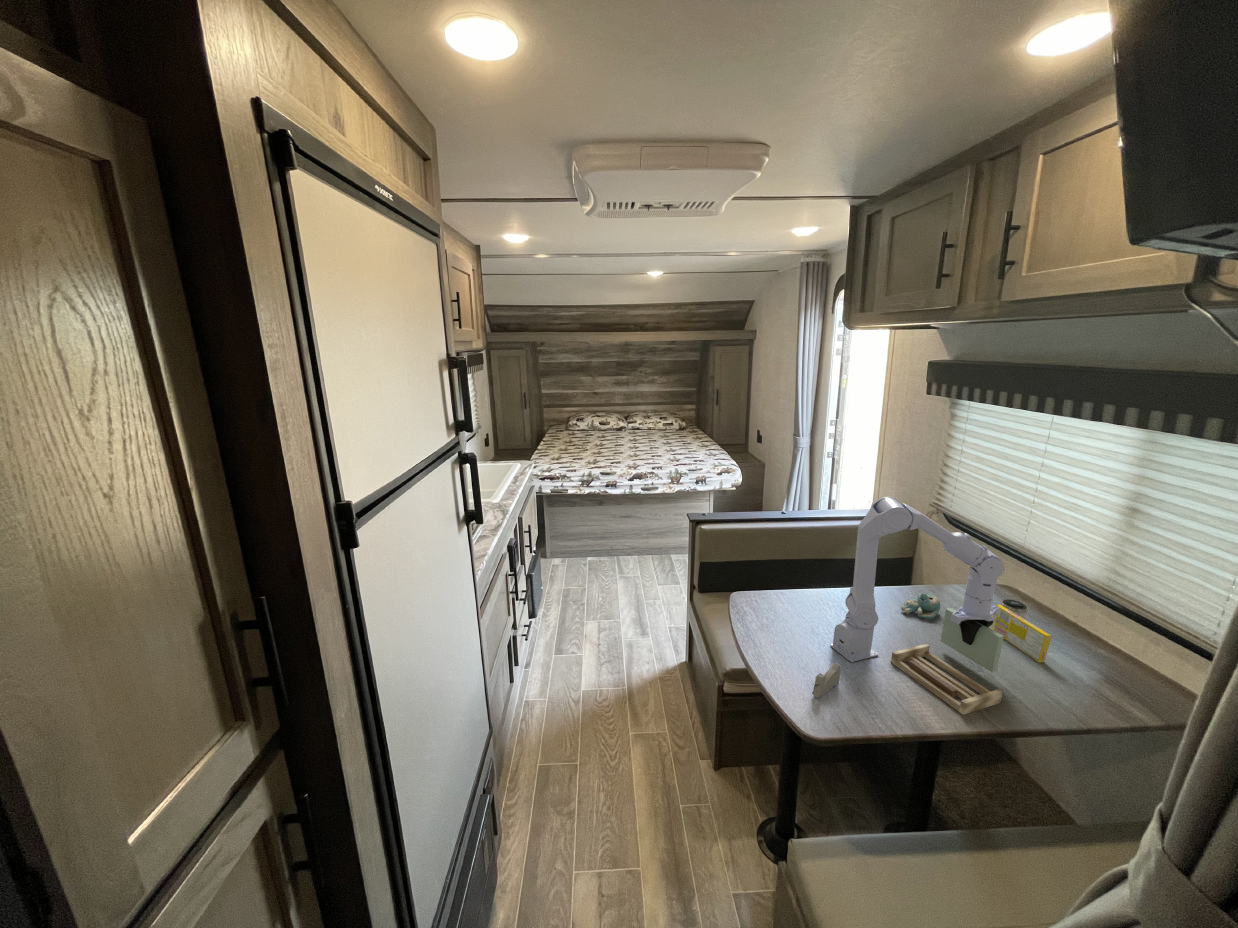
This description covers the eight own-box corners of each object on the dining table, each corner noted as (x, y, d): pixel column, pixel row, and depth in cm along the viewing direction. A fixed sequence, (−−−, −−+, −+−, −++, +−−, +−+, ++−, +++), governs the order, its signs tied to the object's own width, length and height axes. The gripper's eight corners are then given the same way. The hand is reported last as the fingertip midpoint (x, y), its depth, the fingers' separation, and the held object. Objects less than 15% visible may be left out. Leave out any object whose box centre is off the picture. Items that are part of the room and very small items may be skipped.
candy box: (1046, 662, 129) (1052, 635, 127) (1038, 663, 129) (1045, 635, 127) (995, 628, 144) (1000, 603, 142) (988, 628, 144) (993, 603, 142)
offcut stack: (951, 701, 115) (952, 691, 114) (907, 670, 126) (909, 660, 125) (958, 699, 116) (960, 688, 115) (914, 668, 127) (916, 658, 126)
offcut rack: (963, 714, 111) (965, 703, 110) (890, 661, 129) (892, 652, 128) (1000, 702, 114) (1002, 691, 113) (924, 653, 133) (926, 643, 132)
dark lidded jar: (1027, 633, 142) (1033, 609, 140) (1002, 630, 143) (1007, 606, 141) (1016, 622, 147) (1021, 598, 146) (992, 619, 149) (997, 596, 147)
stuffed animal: (891, 590, 156) (924, 581, 157) (892, 609, 158) (925, 600, 159) (915, 607, 146) (951, 597, 147) (916, 627, 148) (951, 618, 149)
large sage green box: (992, 672, 121) (999, 637, 118) (940, 641, 134) (945, 608, 131) (996, 671, 121) (1003, 635, 119) (944, 640, 134) (950, 607, 132)
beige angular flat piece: (838, 684, 121) (815, 701, 115) (833, 681, 122) (810, 697, 116) (841, 664, 120) (818, 680, 114) (835, 661, 121) (813, 677, 115)
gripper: (973, 607, 117) (964, 656, 121) (1015, 598, 122) (1005, 645, 125) (946, 593, 124) (938, 640, 127) (987, 585, 128) (978, 630, 131)
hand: (970, 641), depth 126 cm, fingers closed on large sage green box, 2 cm apart
